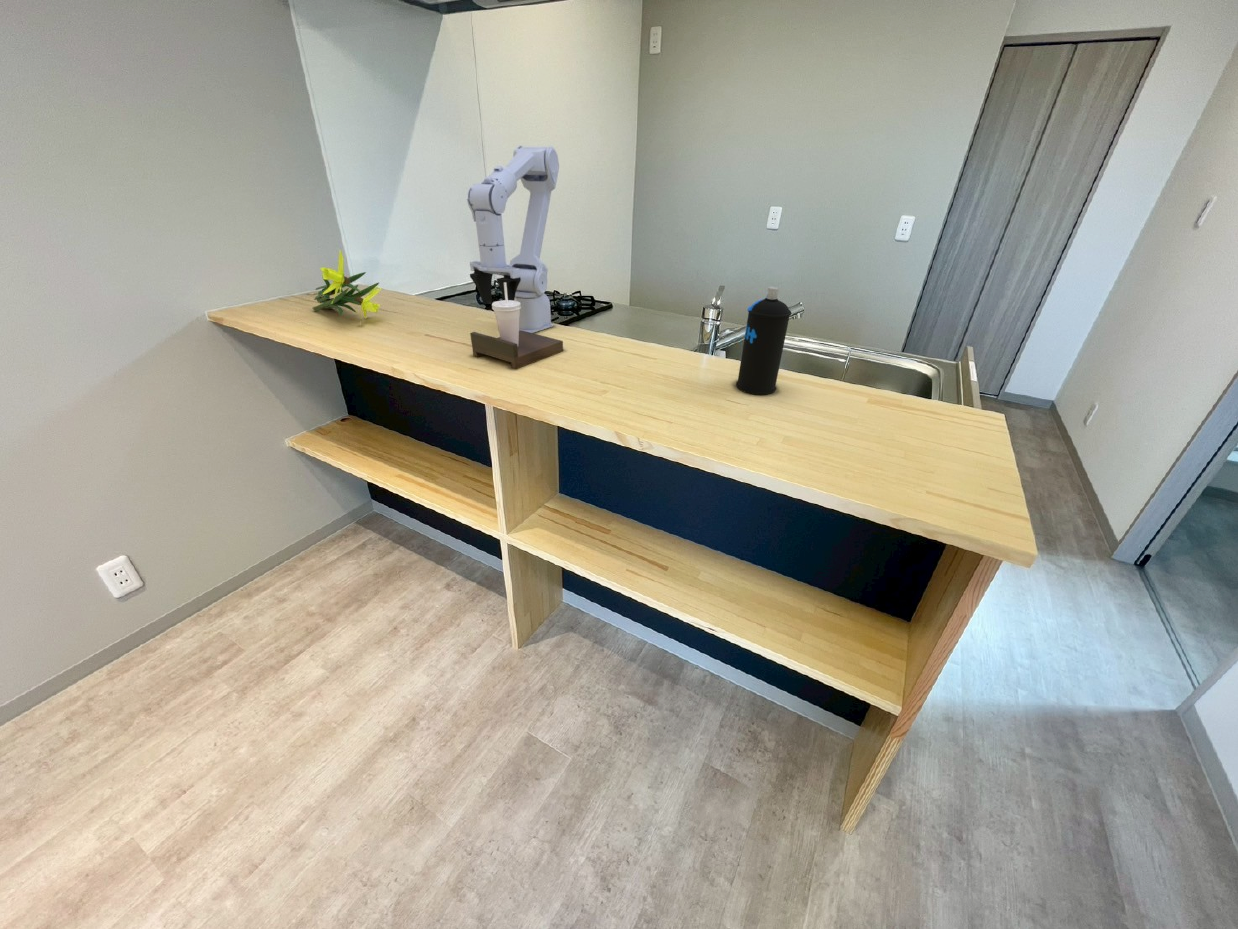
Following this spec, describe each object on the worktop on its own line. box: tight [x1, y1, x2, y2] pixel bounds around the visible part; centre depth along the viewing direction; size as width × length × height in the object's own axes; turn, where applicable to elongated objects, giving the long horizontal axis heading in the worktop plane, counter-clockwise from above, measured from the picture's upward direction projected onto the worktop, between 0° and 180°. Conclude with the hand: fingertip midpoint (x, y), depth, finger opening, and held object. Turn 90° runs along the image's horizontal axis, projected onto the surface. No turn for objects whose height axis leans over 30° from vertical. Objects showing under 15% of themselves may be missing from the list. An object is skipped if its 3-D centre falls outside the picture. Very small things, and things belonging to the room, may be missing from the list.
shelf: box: [469, 330, 564, 370], centre depth 116 cm, size 16×14×6 cm
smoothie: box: [491, 282, 521, 347], centre depth 111 cm, size 6×6×14 cm
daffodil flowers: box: [311, 249, 383, 326], centre depth 136 cm, size 17×15×35 cm
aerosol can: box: [735, 286, 792, 396], centre depth 97 cm, size 8×8×20 cm
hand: (498, 305), depth 118 cm, fingers open, 7 cm apart
